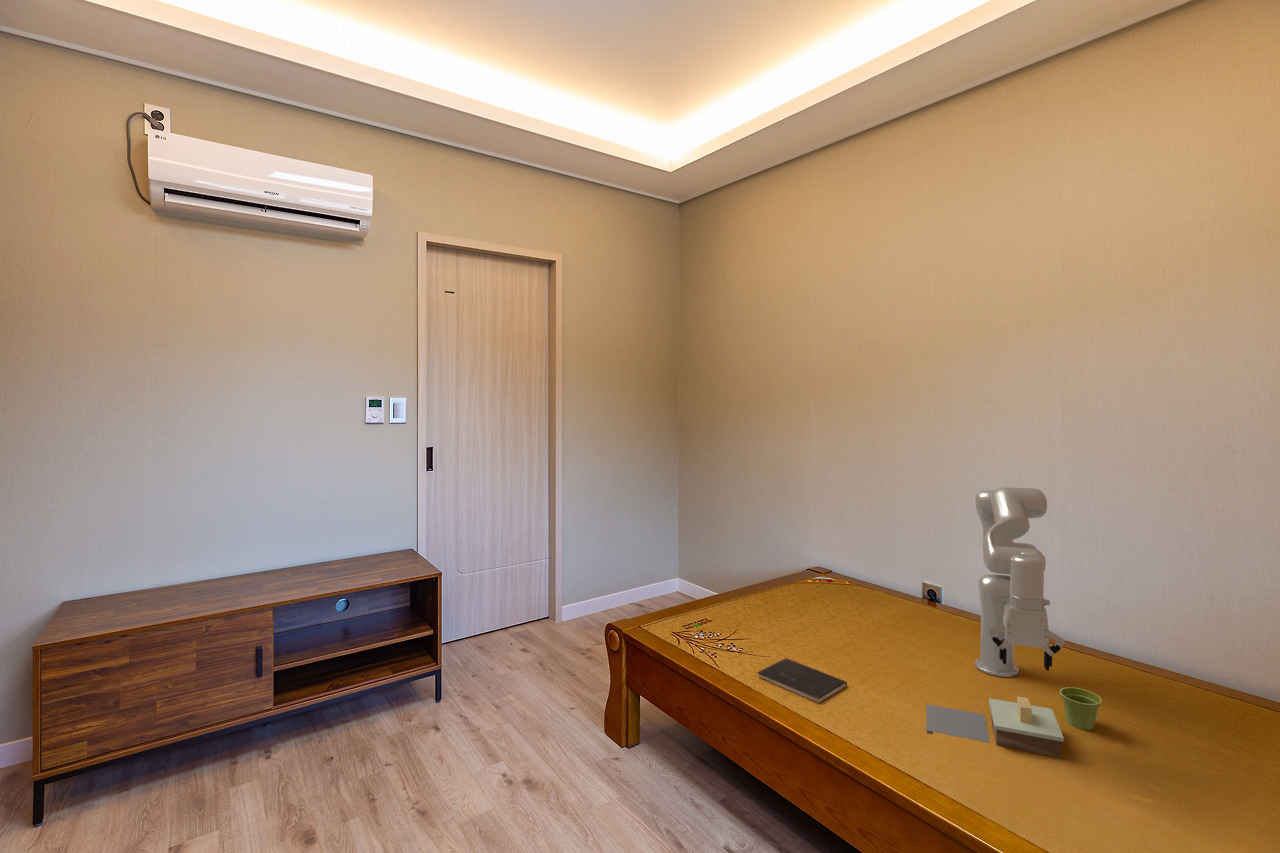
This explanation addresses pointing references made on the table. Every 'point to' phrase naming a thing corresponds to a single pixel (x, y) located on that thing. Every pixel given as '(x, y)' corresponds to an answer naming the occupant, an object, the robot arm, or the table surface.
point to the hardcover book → (802, 680)
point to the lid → (1025, 719)
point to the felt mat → (956, 723)
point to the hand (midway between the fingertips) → (1025, 665)
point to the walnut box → (1027, 742)
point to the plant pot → (1080, 707)
